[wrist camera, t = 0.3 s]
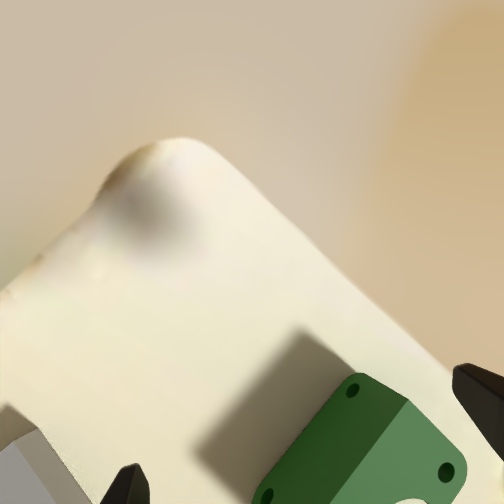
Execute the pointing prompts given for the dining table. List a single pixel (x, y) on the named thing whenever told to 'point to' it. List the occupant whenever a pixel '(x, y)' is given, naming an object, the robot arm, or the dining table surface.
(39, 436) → the socket block
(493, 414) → the robot arm
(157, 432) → the dining table surface
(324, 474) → the clamp
